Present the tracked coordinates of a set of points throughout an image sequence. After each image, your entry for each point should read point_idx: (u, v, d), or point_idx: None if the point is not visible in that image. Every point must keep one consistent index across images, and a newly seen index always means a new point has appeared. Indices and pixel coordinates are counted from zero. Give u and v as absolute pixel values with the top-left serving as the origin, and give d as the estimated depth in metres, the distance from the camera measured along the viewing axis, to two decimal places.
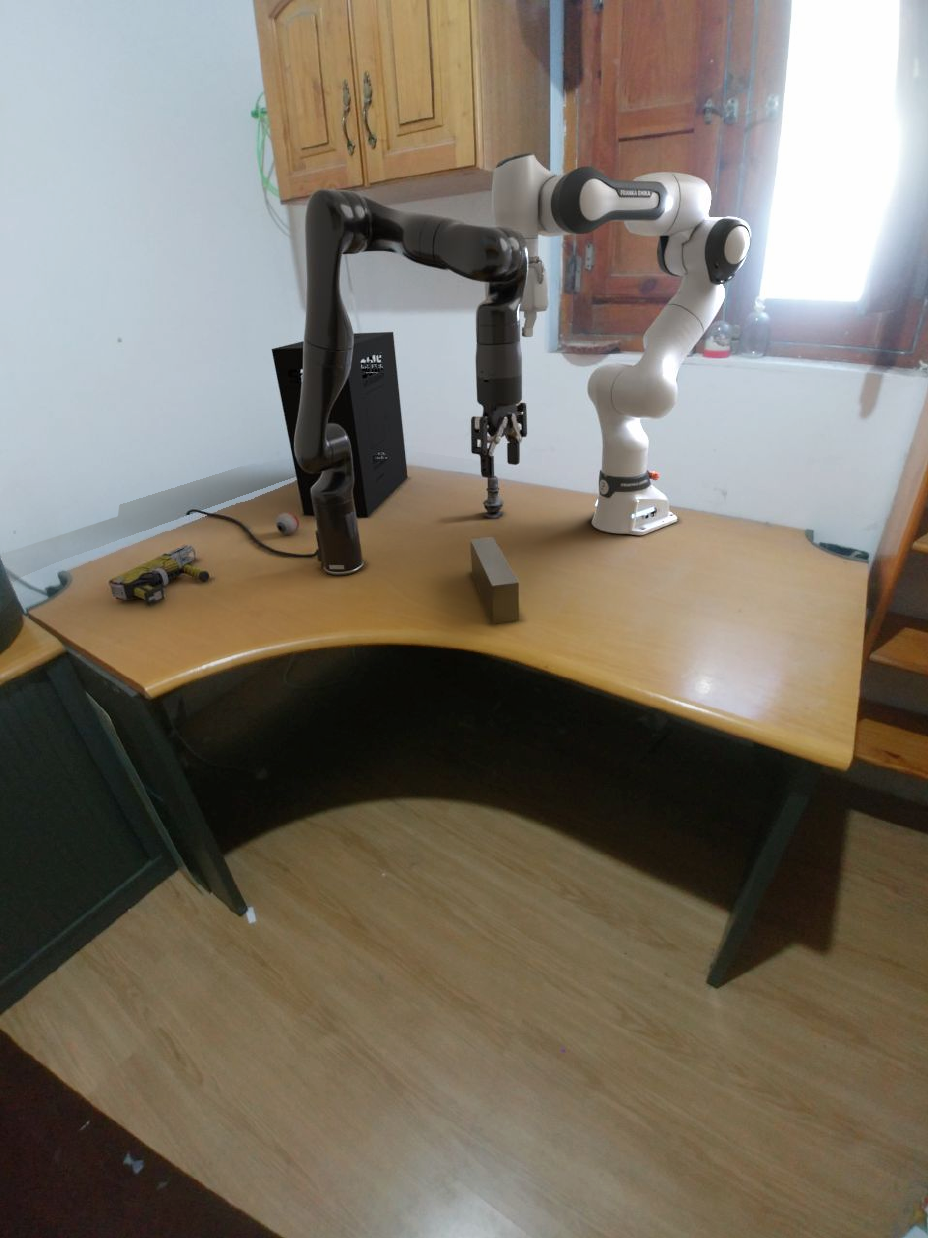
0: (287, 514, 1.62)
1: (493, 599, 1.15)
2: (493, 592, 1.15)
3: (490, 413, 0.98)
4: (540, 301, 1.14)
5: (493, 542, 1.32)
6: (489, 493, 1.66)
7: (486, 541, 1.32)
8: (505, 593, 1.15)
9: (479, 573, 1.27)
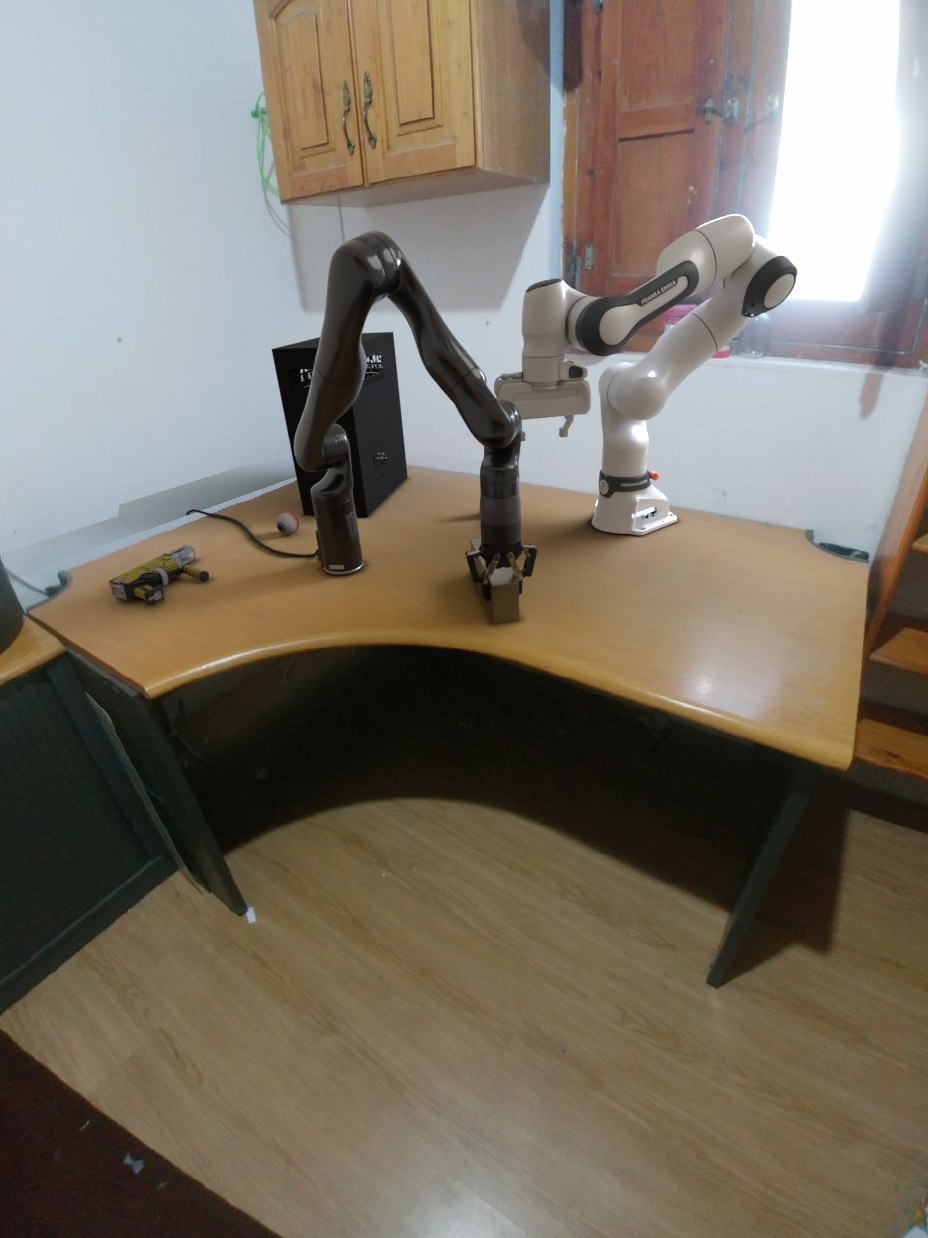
0: (287, 514, 1.62)
1: (493, 599, 1.15)
2: (493, 592, 1.15)
3: None
4: None
5: None
6: None
7: None
8: (505, 594, 1.15)
9: (479, 573, 1.27)
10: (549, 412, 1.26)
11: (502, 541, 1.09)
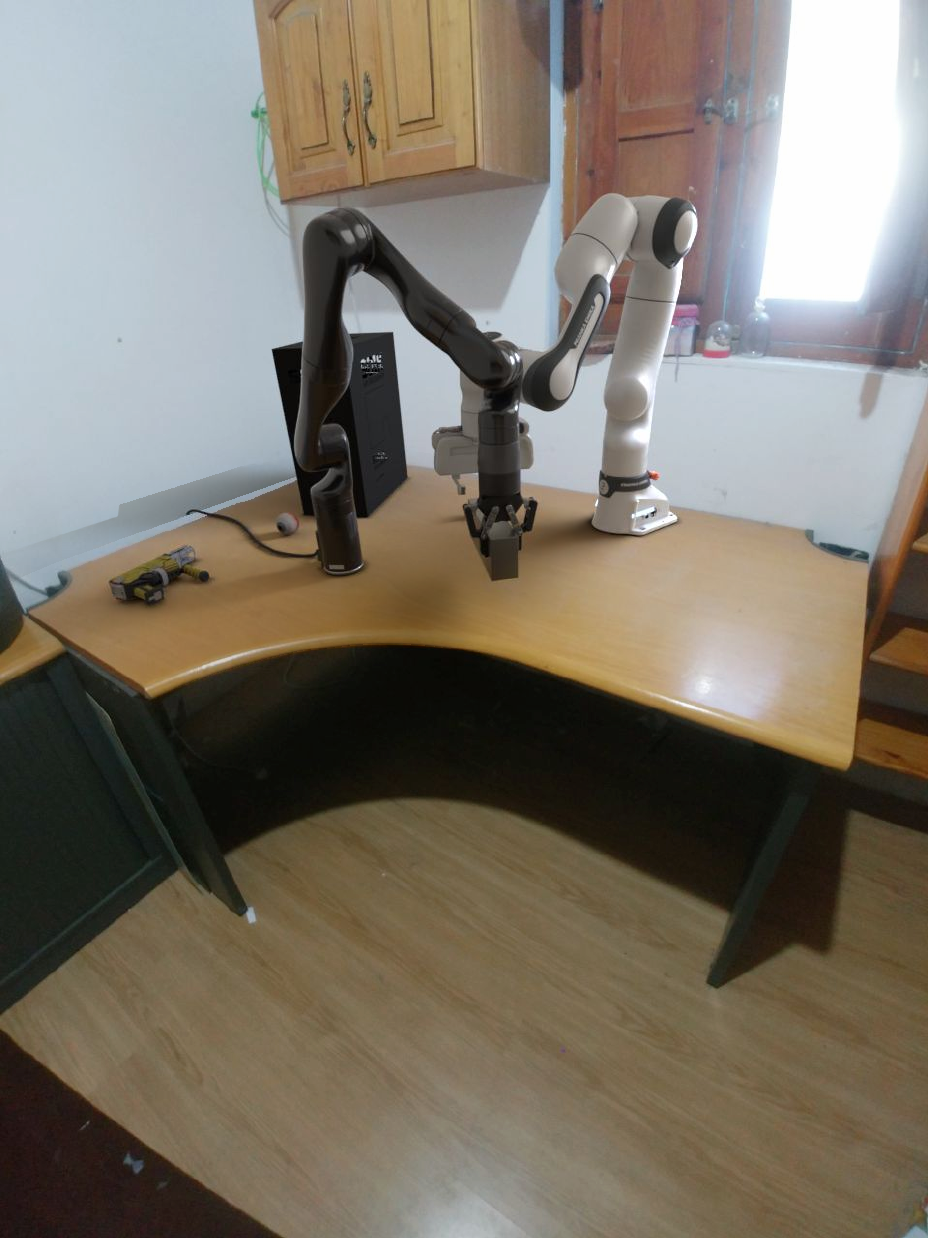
0: (287, 514, 1.62)
1: (492, 554, 1.11)
2: (492, 547, 1.10)
3: None
4: (434, 465, 1.21)
5: None
6: None
7: None
8: (504, 549, 1.10)
9: None
10: None
11: (501, 491, 1.05)
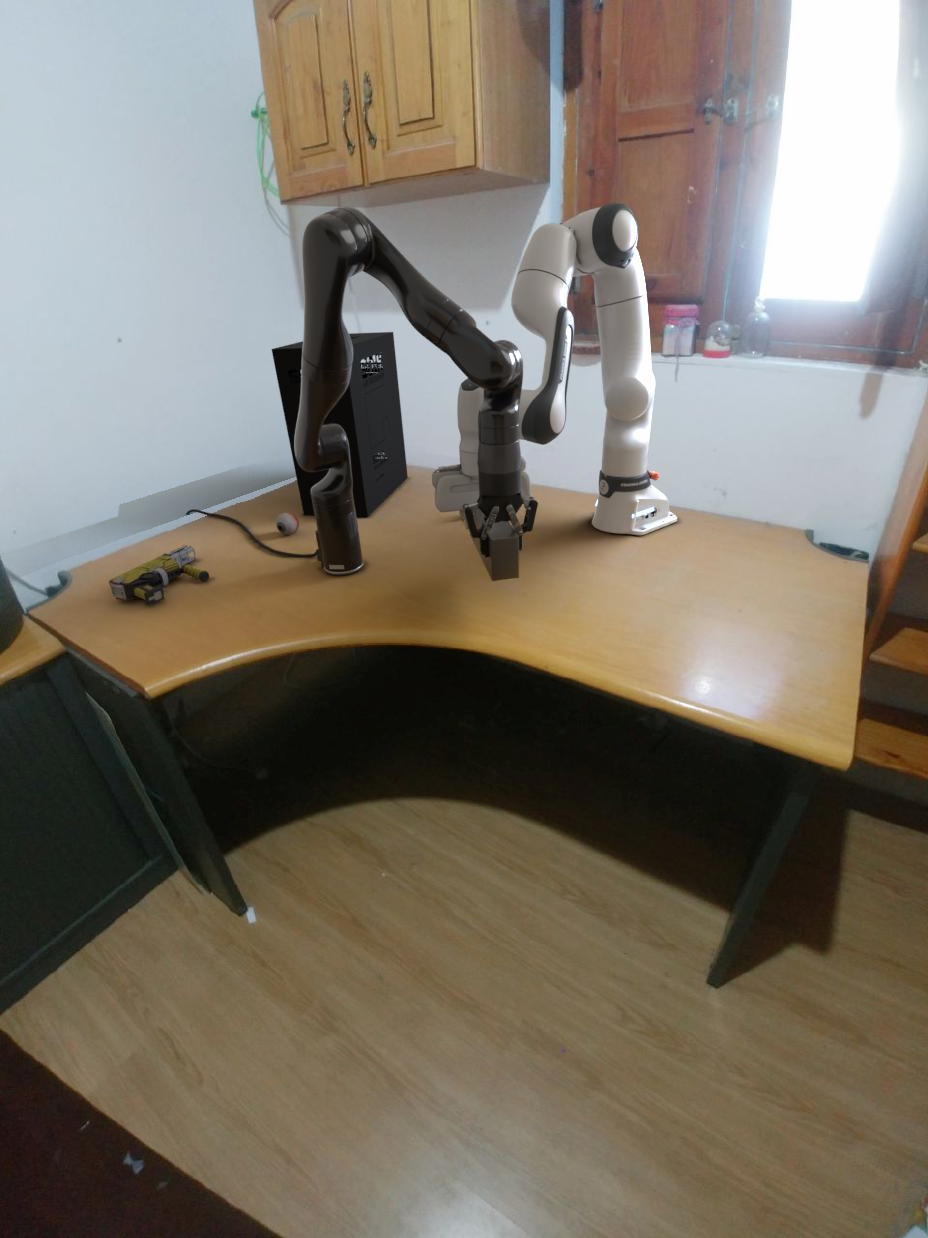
0: (287, 514, 1.62)
1: (492, 554, 1.11)
2: (492, 547, 1.10)
3: None
4: (435, 502, 1.25)
5: None
6: None
7: None
8: (504, 548, 1.10)
9: None
10: None
11: (501, 491, 1.04)
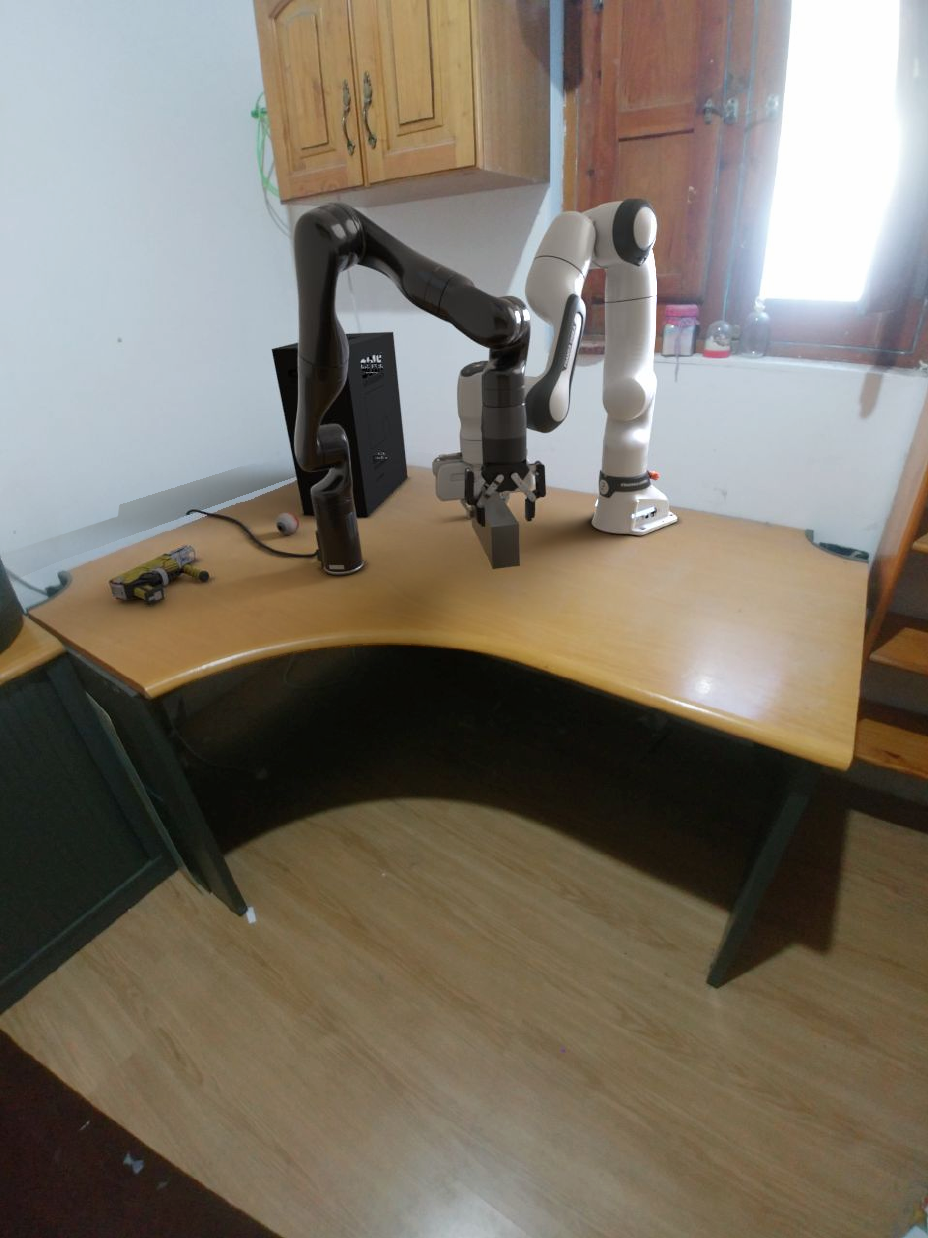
0: (287, 514, 1.62)
1: (492, 542, 1.09)
2: (492, 534, 1.08)
3: None
4: (436, 491, 1.24)
5: None
6: None
7: None
8: (505, 536, 1.09)
9: None
10: None
11: (506, 457, 0.99)
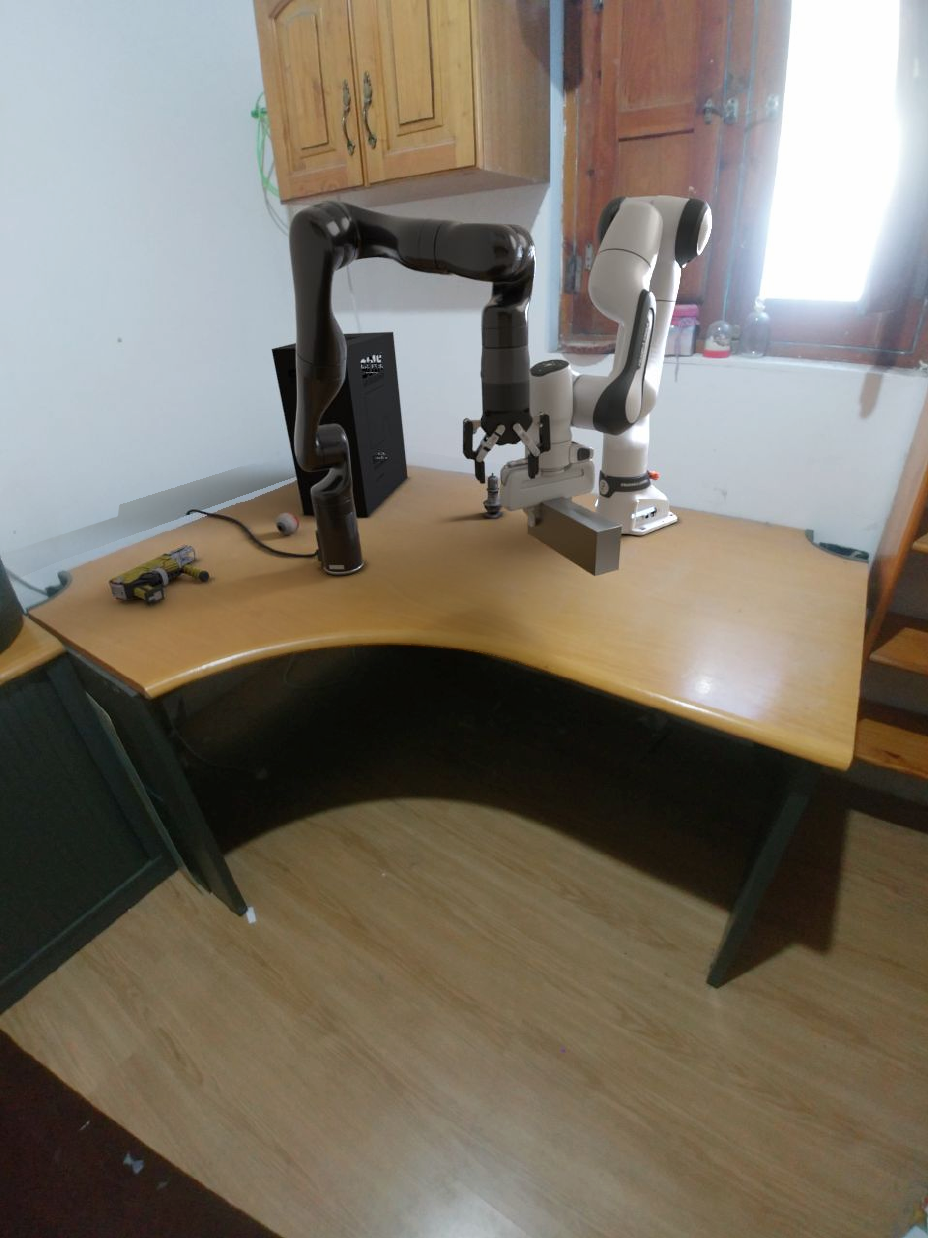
0: (287, 514, 1.62)
1: (597, 547, 1.04)
2: (597, 539, 1.03)
3: None
4: (502, 501, 1.15)
5: None
6: (489, 493, 1.66)
7: None
8: (608, 540, 1.04)
9: (554, 527, 1.15)
10: (556, 496, 1.18)
11: (507, 404, 0.92)
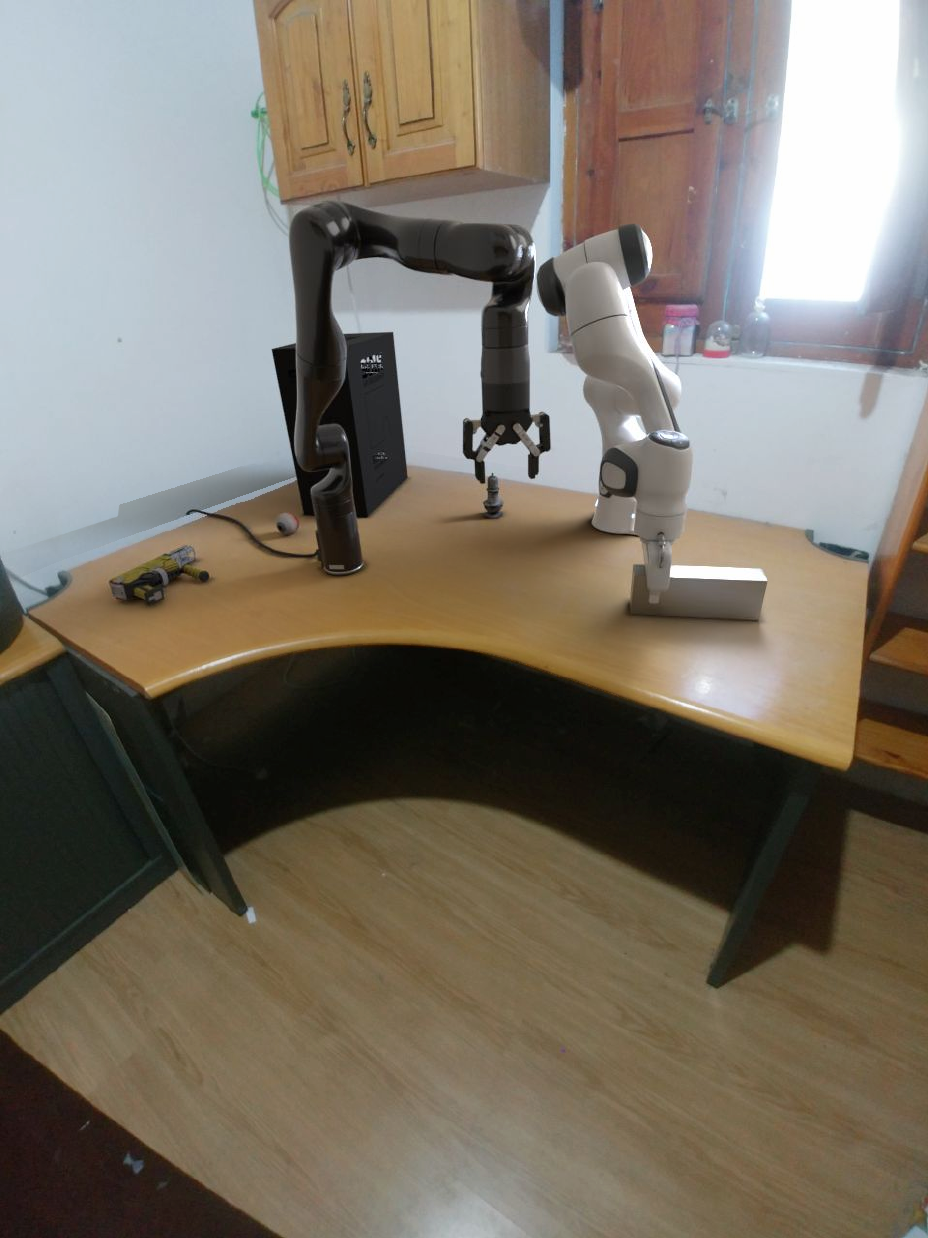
0: (287, 514, 1.62)
1: (764, 594, 1.11)
2: (765, 587, 1.11)
3: None
4: (657, 584, 1.06)
5: None
6: (489, 493, 1.66)
7: None
8: None
9: (688, 595, 1.14)
10: None
11: (507, 404, 0.92)
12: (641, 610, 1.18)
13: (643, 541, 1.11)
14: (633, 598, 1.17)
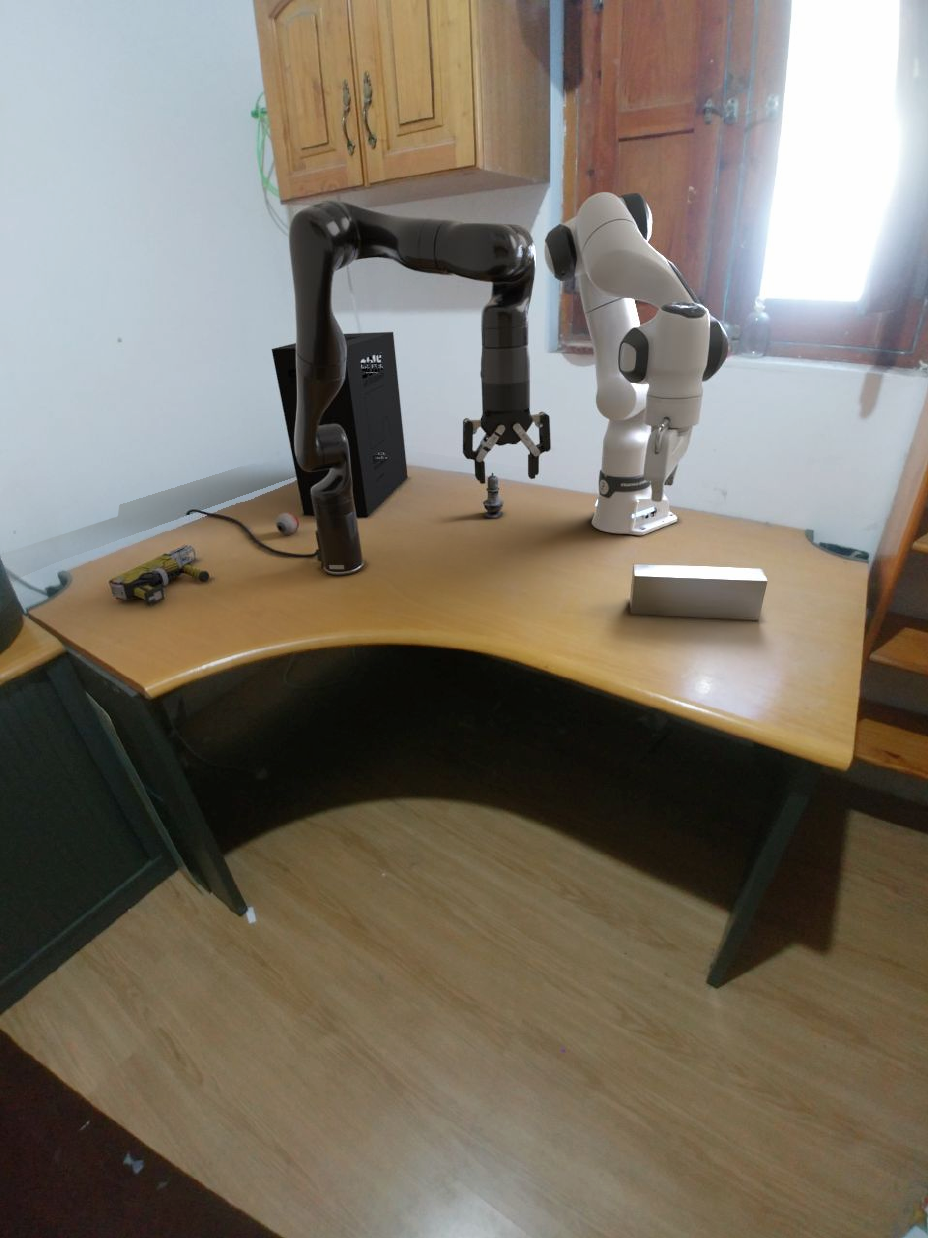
0: (287, 514, 1.62)
1: (764, 594, 1.11)
2: (765, 587, 1.11)
3: None
4: (652, 472, 0.97)
5: (649, 565, 1.18)
6: (489, 493, 1.66)
7: (645, 568, 1.17)
8: None
9: (688, 595, 1.14)
10: (678, 459, 1.05)
11: (507, 404, 0.92)
12: (641, 610, 1.18)
13: (652, 431, 1.02)
14: (633, 598, 1.17)
